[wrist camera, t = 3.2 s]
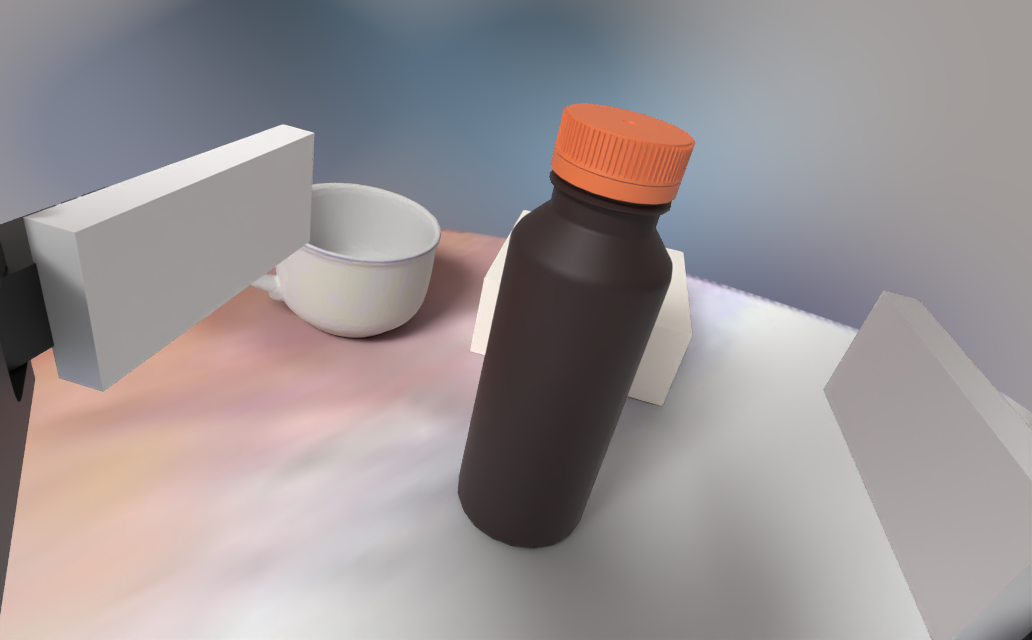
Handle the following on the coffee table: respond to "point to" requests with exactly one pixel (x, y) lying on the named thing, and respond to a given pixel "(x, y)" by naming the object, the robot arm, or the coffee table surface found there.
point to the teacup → (358, 261)
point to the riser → (661, 347)
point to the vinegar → (571, 324)
